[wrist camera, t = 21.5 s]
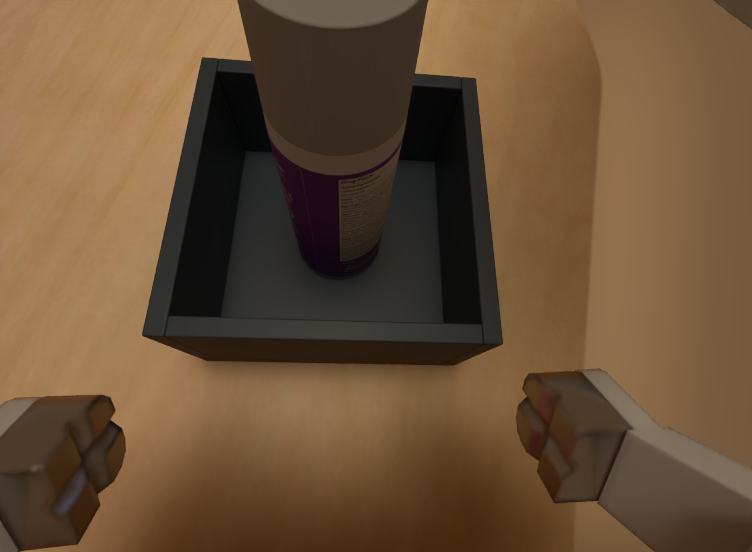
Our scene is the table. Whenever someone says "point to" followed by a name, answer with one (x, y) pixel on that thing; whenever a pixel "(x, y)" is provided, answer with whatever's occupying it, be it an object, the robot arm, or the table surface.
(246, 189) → the tub
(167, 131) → the table surface
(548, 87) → the table surface
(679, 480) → the robot arm
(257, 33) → the container
